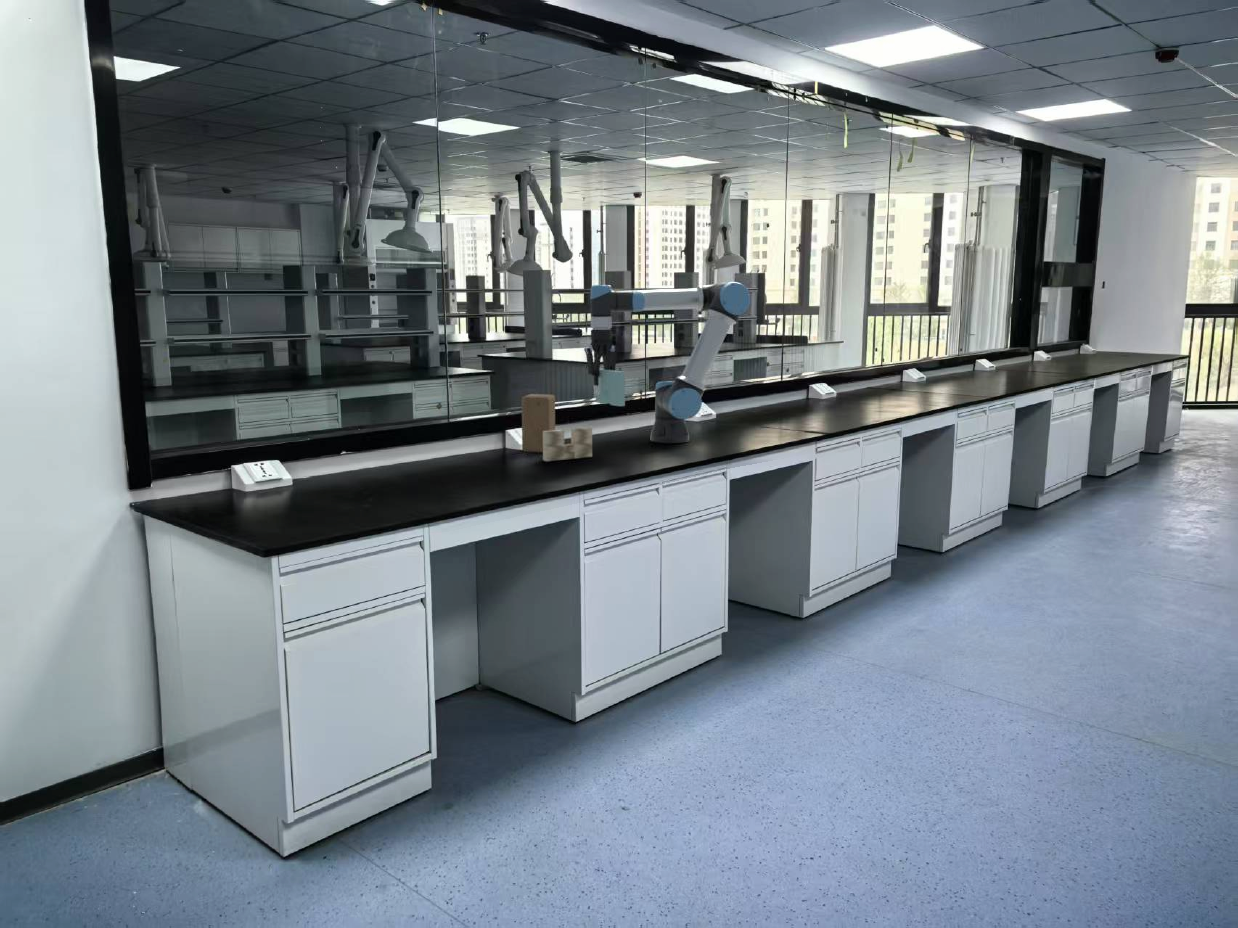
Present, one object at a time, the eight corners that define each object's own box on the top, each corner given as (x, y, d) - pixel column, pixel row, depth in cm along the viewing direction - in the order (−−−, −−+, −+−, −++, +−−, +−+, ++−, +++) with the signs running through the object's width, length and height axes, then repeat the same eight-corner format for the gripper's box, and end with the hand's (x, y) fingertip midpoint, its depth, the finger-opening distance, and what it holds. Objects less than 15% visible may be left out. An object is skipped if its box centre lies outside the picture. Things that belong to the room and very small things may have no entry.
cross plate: (595, 402, 325) (595, 369, 323) (601, 401, 326) (600, 368, 324) (619, 406, 311) (618, 372, 309) (624, 405, 313) (624, 371, 310)
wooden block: (548, 453, 316) (547, 397, 313) (521, 452, 318) (520, 396, 315) (555, 448, 326) (555, 394, 322) (529, 447, 328) (529, 393, 324)
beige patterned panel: (588, 455, 312) (588, 427, 310) (592, 456, 310) (592, 428, 308) (543, 460, 302) (542, 431, 300) (546, 461, 300) (546, 431, 298)
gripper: (613, 328, 326) (614, 392, 330) (577, 329, 317) (578, 394, 322) (625, 328, 319) (625, 393, 324) (587, 329, 311) (588, 396, 316)
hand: (602, 394), depth 323 cm, fingers closed on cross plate, 2 cm apart
